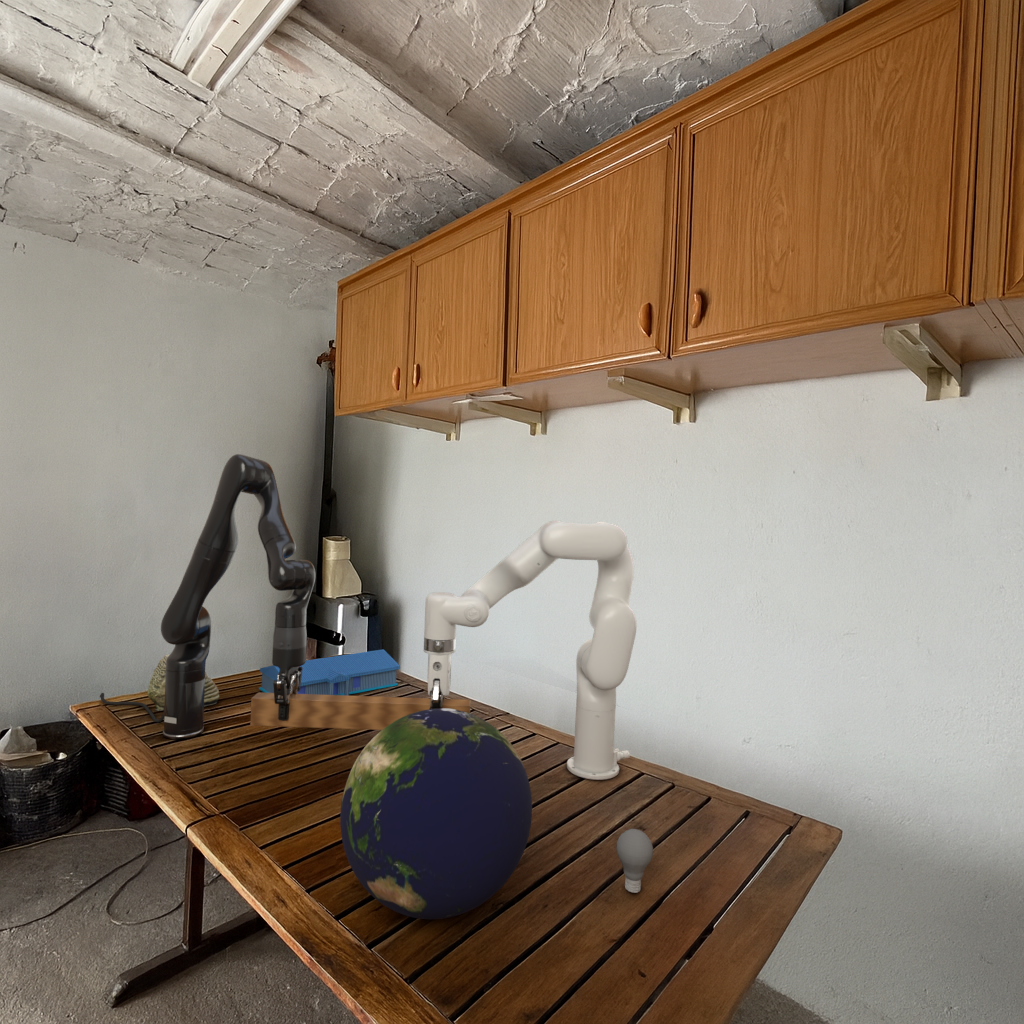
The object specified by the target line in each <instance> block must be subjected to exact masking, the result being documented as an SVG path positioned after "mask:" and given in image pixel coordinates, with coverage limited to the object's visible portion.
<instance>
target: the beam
mask: <svg viewBox="0 0 1024 1024" xmlns="http://www.w3.org/2000/svg"><path fill="white" fill-rule="evenodd" d="M250 699H251V700H250V702H251V703H250V723H249V724H250V726H252V727H253V726H254V727H256V726H257V727H283V728H311V729H312V728H313V729H343V730H345V729H346V730H369V731H370V730H371V731H372V730H373V731H381V730H383V729H384V728H385V727H387V726H388V725H390V724H391V723H393V722H395V721H396V720H398V719H400V718H402V717H404V716H407V715H409V714H412V713H415V712H418V711H423V710H428V709H429V708H430V703H431V697H430V698H427V697H426V698H425V697H401V696H400V697H399V696H375V695H374V696H373V695H371V696H370V695H349V696H345V695H317V694H291V695H290V702H289V718H288V719H287V720H279V719H278V710H279V704H275V700H274V693H264V692H262V691H261V692H260V691H259V692H257V693H256V694H255V695H253V696H252V697H251V698H250ZM281 699H283V696H282V698H281ZM439 700H440V699H439ZM471 700H472V699H457V698H455V699H453V698H444V699H443V703H442V708H449V709H455V710H459V711H463V712H467V713H470V714H471V702H472V701H471Z"/></svg>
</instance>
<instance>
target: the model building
mask: <svg viewBox="0 0 1024 1024" xmlns="http://www.w3.org/2000/svg"><path fill="white" fill-rule="evenodd" d="M299 667H303V670H302V678H301V686H300V691H299V692H298V694H317V695H345V696H350V695H353V694H359V693H364V692H365V693H366V692H369V691H373V690H381V689H385V688H390V687H391V688H392V687H395V686H399V683H398V682H397V670H400V669H401V665H400V664H399V663H398V662H397V661H396V660H395V659H394V658H393V657H392V656H391V654H389V653H388V652H387V651H386V650H385V649H376V650H368V651H363V652H356V653H349V654H342V655H341V654H340V655H335V656H329V657H328V656H327V657H321V658H315V659H314V658H313V659H306V662H305V664H303V665H301V666H299ZM279 670H280V668H279V667H276V666H274V665H273V664H272V665H268V666H264V667H263V666H262V667H260V668H259V672H260V673H261V686H260V687H258V690H260V691H261V692H262V693H274V687H273V682H274V680H277V677H278V673H279Z"/></svg>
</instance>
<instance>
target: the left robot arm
mask: <svg viewBox="0 0 1024 1024" xmlns="http://www.w3.org/2000/svg"><path fill="white" fill-rule="evenodd" d="M241 493H244V494H248V495H254V497H255V499H256V500H257V501H258V503H259V506H260V513H259V516H258V520H257V533H258V536H259V538H260V542H261V544H262V547H263V549H264V552H265V556H266V564H267V579H268V583H269V584H270V586H271V587H272V588H273V589H274V590H276V591H278V592H283V591H292V592H291V594H290V595H289V596H288V597H286V598H284V599H282V600H279V601H278V602H276V604H275V608H274V628H273V635H272V653H271V655H272V659H271V664H272V665H274V666H276V667H279V668H280V670H279V673H278V677H277V680H274V682H273V687H274V700H275V704H279V710H278V719H279V720H287V719H288V718H289V702H290V695H291V694H298V692H299V691H300V686H301V678H302V670H303V667H299V666H301V665H303V664H305V662H306V660H307V641H308V640H307V637H308V635H307V632H308V631H307V609H308V606H309V601H310V599H311V595H312V592H313V589H314V586H315V582H316V578H317V577H316V575H317V574H316V569H315V566H314V564H313V563H312V562H311V561H310V560H307V559H288V558H290V557H292V556H293V555H294V554H295V553H296V550H297V545H296V542H295V539H294V536H293V535H292V532H291V530H290V528H289V525H288V523H287V520H286V517H285V515H284V512H283V511H284V510H283V508H282V503H281V498H280V493H279V488H278V485H277V480H276V476H275V472H274V470H273V468H272V466H271V465H270V464H269V463H268V462H267V461H265V460H262V459H260V458H256V457H252V456H248V455H245V454H241V453H236V454H233V455H232V456H230V457H229V458H228V460H227V461H226V463H225V464H224V467H223V469H222V471H221V474H220V478H219V481H218V485H217V488H216V491H215V494H214V499H213V502H212V505H211V507H210V510H209V513H208V515H207V518H206V521H205V523H204V526H203V528H202V530H201V532H200V535H199V537H198V539H197V542H196V544H195V546H194V549H193V552H192V555H191V557H190V560H189V562H188V565H187V567H186V569H185V572H184V574H183V577H182V579H181V582H180V584H179V587H178V589H177V590H176V593H175V594H174V597H173V598H172V600H171V602H170V603H169V604H168V608H167V609H166V610H165V612H164V614H163V617H162V619H161V622H160V633H161V636H162V638H163V640H164V641H165V642H166V643H167V644H170V645H173V646H174V647H173V650H172V651H171V652H170V653H169V654H168V655H169V656H168V657H167V659H166V674H165V705H164V710H163V713H162V715H161V716H160V718H157V717H156V715H155V714H154V712H153V711H152V710H151V709H150V707H149V706H148V705H147V704H145V703H144V702H138V701H109V700H106V699H105V693H104V692H101V693H100V695H99V698H100V700H101V702H102V703H103V704H105V705H108V706H109V705H110V706H139V707H142V708H144V710H145V711H146V712H147V713H148V715H149V716H150V717H151V719H152V721H154V722H155V723H157V724H158V723H161V722H163V730H162V737H164V738H166V739H169V740H185V739H190V738H191V739H192V738H194V737H197V736H199V735H202V734H203V732H204V730H205V729H204V727H205V725H204V722H205V721H204V718H205V706H204V693H205V672H206V664H207V663H206V662H207V658H208V655H209V653H210V647H211V636H212V619H211V614H210V613H209V611H208V610H207V608H206V607H204V606H203V605H204V603H205V601H206V600H207V597H208V595H209V594H210V592H211V591H212V590H213V589H214V587H215V586H216V585H217V584H218V583H219V581H220V580H221V579H222V578H223V577H224V575H225V573H226V572H227V570H228V569H229V567H230V565H231V563H232V561H233V558H234V555H235V553H236V551H237V548H238V546H239V534H238V528H237V524H236V518H235V510H236V505H237V502H238V499H239V497H240V495H241ZM286 559H287V560H286ZM282 696H283V699H281V698H282Z"/></svg>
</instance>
